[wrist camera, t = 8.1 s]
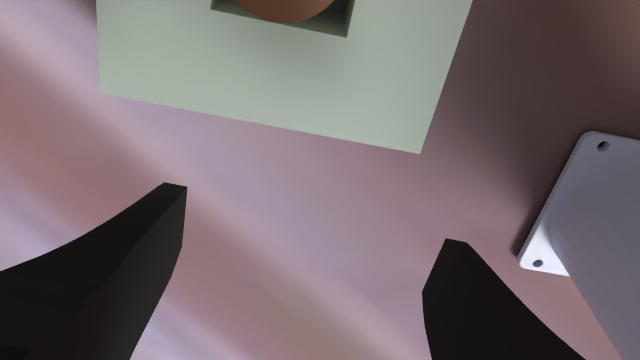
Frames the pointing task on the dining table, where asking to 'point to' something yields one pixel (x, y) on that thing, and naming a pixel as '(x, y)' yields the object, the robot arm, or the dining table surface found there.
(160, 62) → the socket block
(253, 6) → the dowel
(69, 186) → the dining table surface
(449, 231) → the dining table surface
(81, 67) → the dining table surface
